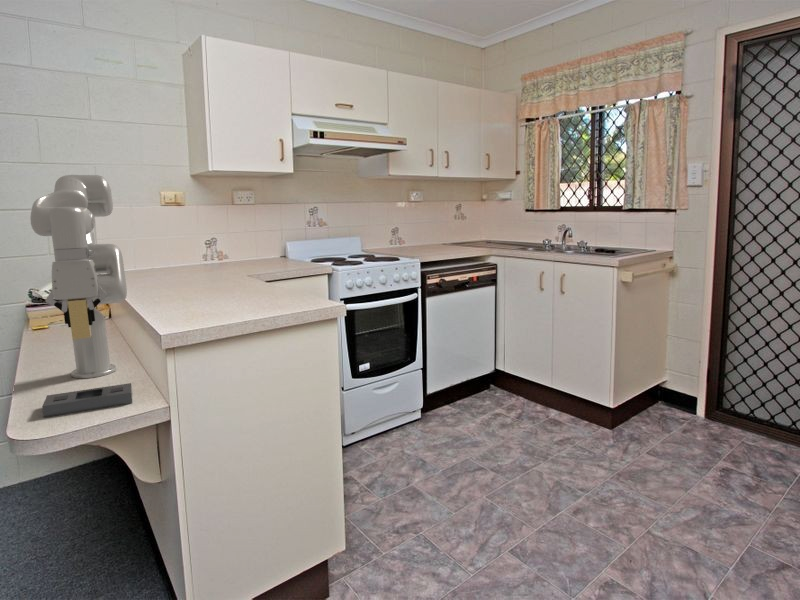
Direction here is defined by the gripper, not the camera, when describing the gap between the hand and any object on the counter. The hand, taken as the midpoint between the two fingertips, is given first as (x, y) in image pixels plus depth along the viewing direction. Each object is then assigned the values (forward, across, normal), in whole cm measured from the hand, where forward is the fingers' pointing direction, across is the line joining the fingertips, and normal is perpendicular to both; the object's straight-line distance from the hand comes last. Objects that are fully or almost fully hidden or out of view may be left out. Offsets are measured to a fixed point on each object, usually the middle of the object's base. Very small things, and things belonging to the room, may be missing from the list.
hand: (80, 324), depth 138 cm
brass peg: (+3, 0, 0) cm, 3 cm away
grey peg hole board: (+22, 0, 0) cm, 22 cm away
